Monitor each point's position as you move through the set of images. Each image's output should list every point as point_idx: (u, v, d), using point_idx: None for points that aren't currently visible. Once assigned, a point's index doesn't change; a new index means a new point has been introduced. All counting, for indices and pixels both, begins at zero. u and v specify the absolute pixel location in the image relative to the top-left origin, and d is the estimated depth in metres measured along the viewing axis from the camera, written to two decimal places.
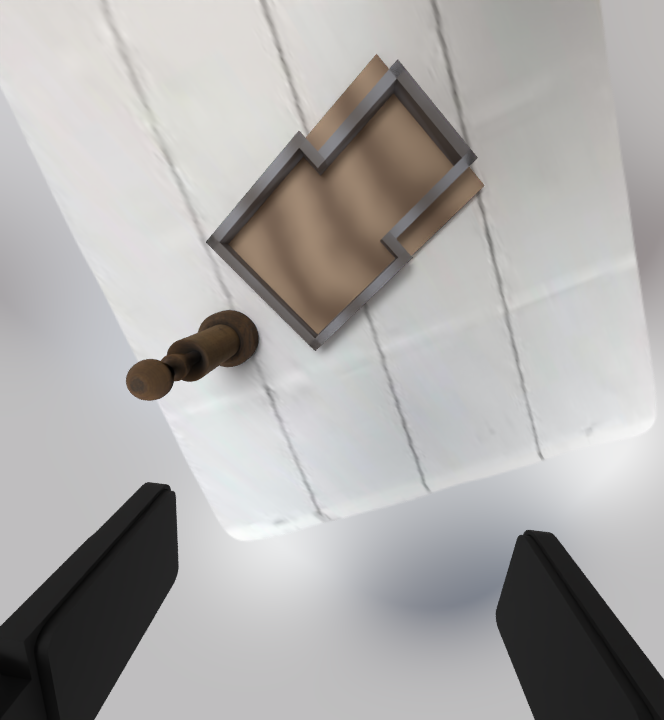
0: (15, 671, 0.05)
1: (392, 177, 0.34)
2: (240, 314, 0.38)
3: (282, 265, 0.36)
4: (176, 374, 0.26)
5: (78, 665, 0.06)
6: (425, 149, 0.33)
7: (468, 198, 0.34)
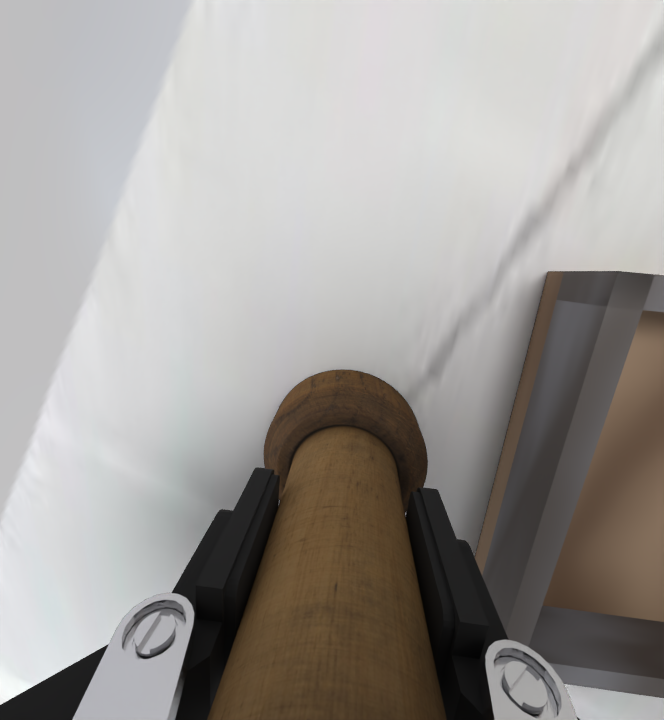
0: (210, 615, 0.06)
1: None
2: None
3: (609, 453, 0.13)
4: None
5: None
6: None
7: None
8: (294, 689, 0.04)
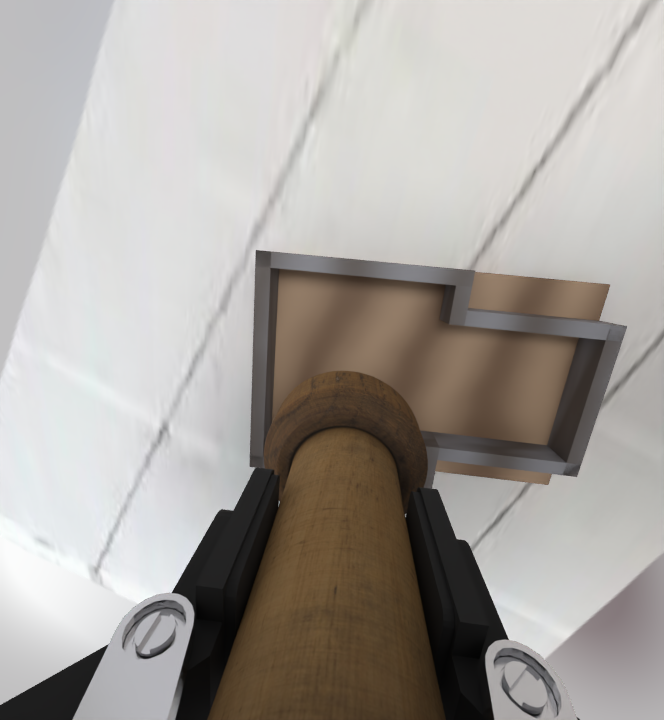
0: (210, 615, 0.06)
1: (492, 395, 0.25)
2: None
3: (309, 349, 0.25)
4: None
5: (242, 616, 0.07)
6: (545, 406, 0.25)
7: (525, 480, 0.27)
8: (293, 693, 0.04)
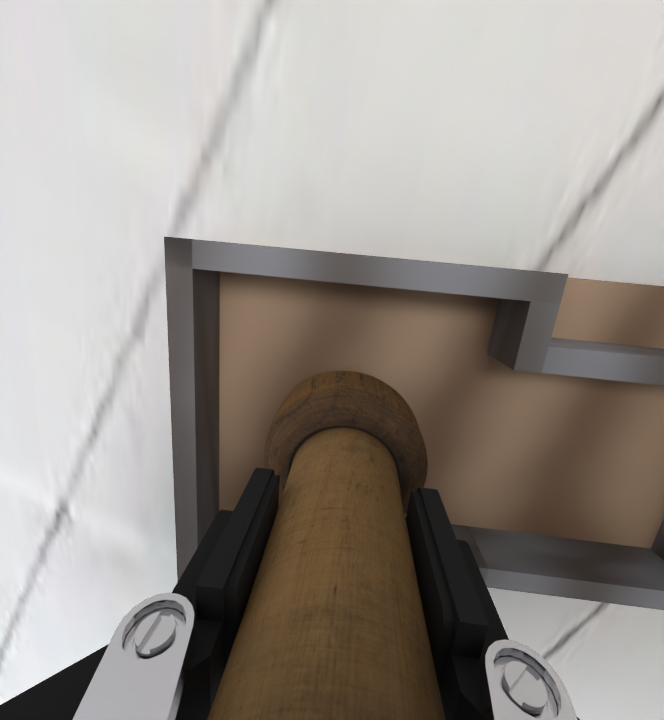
0: (210, 615, 0.06)
1: (569, 474, 0.16)
2: None
3: (274, 400, 0.16)
4: None
5: (242, 616, 0.07)
6: (652, 491, 0.16)
7: None
8: (293, 692, 0.04)
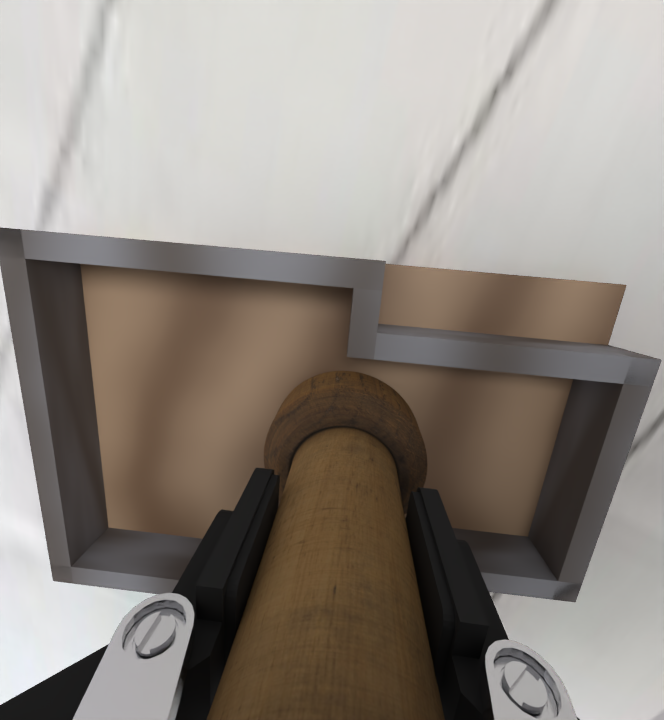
0: (210, 615, 0.06)
1: (440, 462, 0.16)
2: None
3: (147, 392, 0.16)
4: None
5: None
6: (523, 479, 0.16)
7: None
8: (292, 693, 0.04)
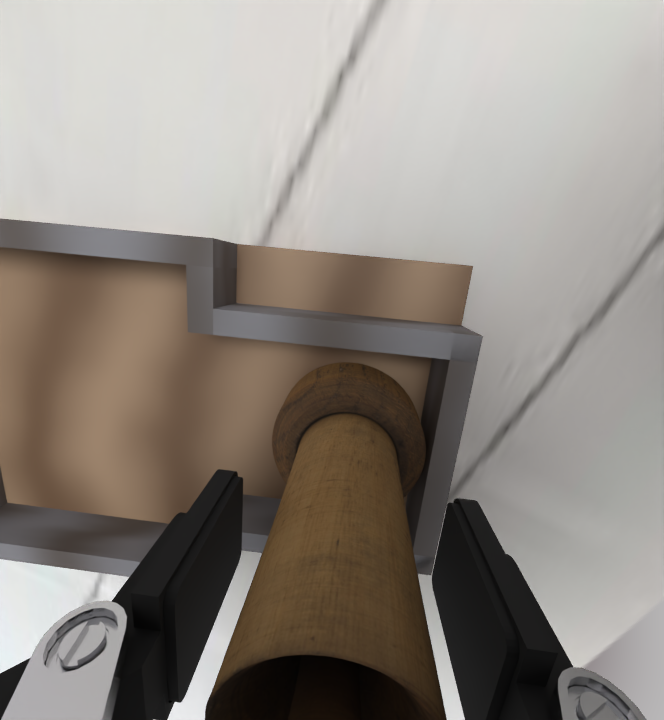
0: (147, 623, 0.06)
1: None
2: None
3: (30, 369, 0.16)
4: None
5: (188, 623, 0.07)
6: None
7: None
8: (302, 615, 0.05)
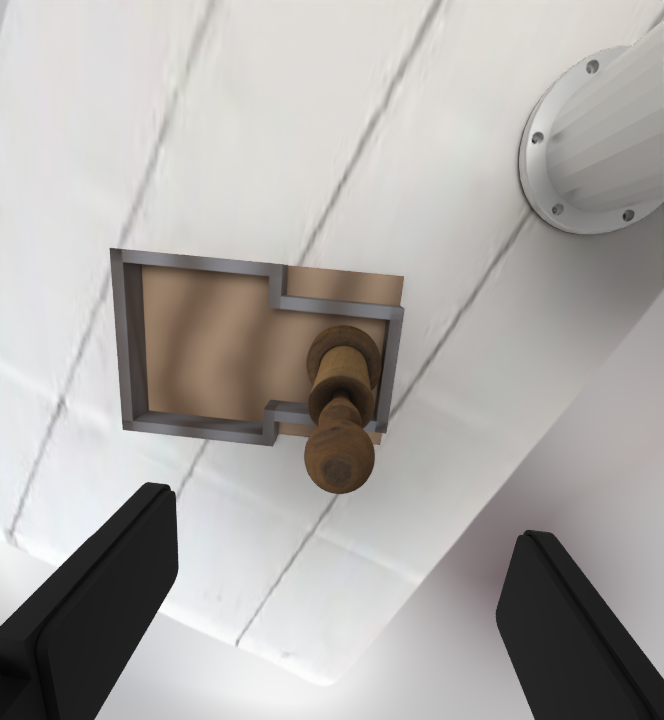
0: (15, 671, 0.05)
1: None
2: None
3: (173, 331, 0.30)
4: None
5: (78, 665, 0.06)
6: None
7: None
8: (334, 373, 0.20)
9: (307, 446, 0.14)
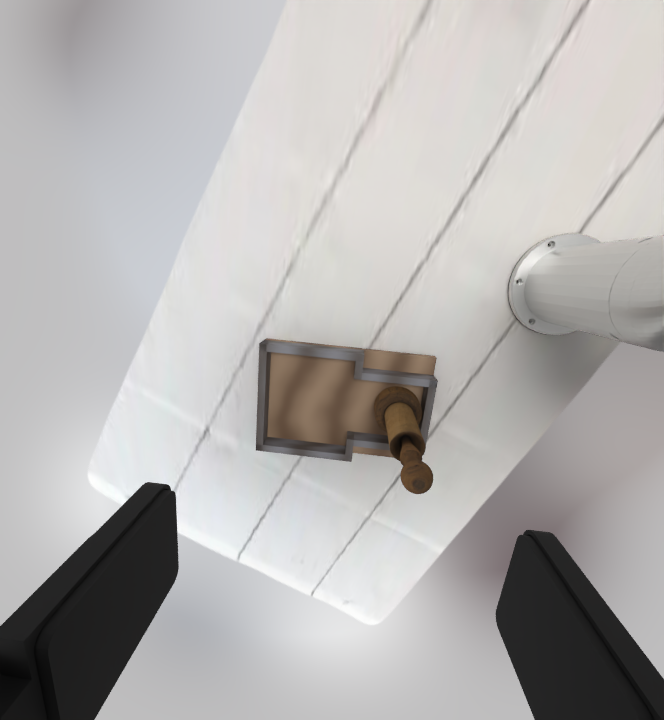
0: (15, 671, 0.05)
1: None
2: None
3: (287, 388, 0.48)
4: None
5: (78, 665, 0.06)
6: None
7: None
8: (404, 429, 0.37)
9: (403, 472, 0.31)
